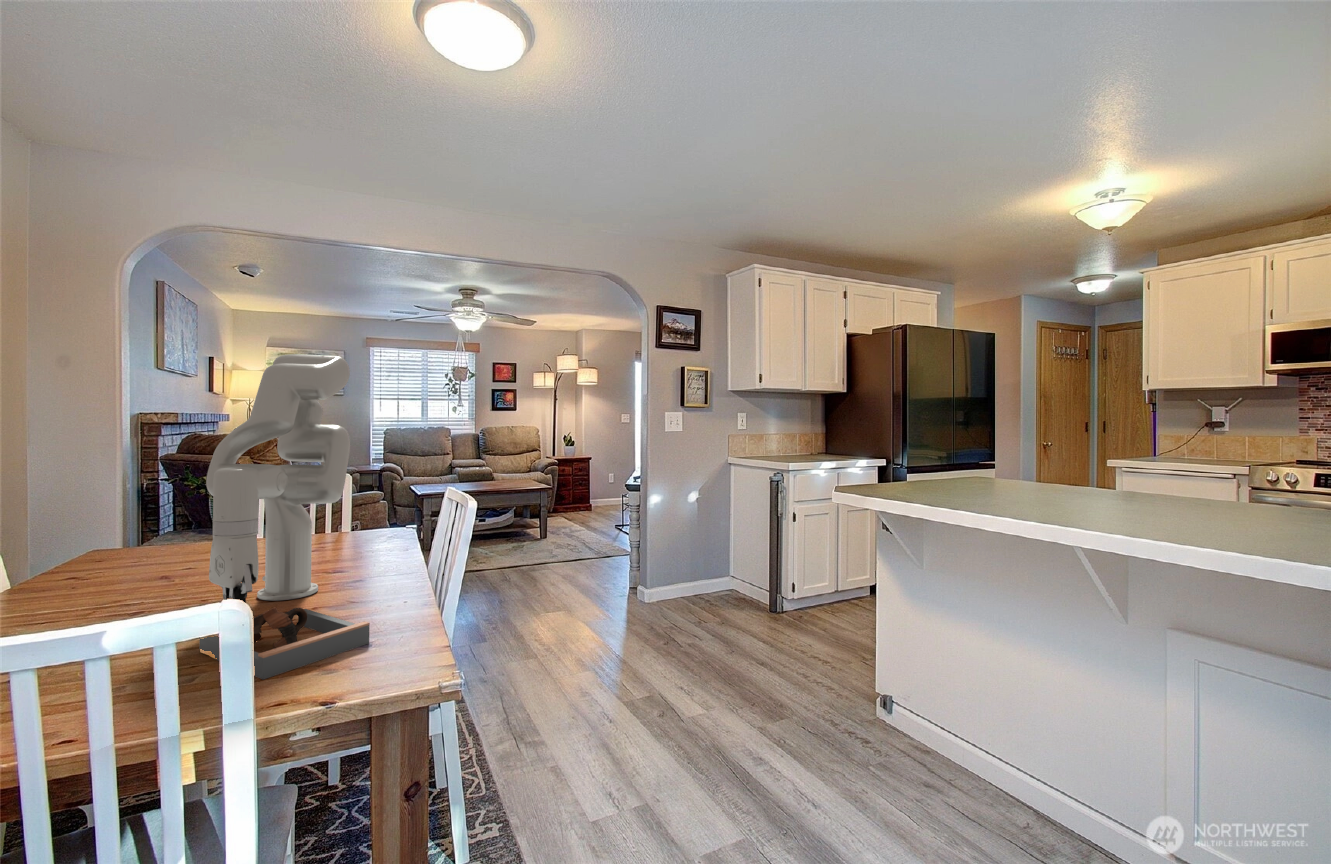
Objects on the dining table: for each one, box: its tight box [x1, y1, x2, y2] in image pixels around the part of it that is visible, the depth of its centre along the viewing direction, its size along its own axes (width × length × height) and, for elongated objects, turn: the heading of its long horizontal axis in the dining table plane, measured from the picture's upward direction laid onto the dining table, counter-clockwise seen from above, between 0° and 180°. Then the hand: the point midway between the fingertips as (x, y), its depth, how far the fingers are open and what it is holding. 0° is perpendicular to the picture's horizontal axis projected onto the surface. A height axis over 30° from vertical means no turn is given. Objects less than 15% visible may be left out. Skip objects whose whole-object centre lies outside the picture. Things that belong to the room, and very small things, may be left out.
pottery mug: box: [253, 607, 307, 649], centre depth 112 cm, size 12×10×8 cm
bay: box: [198, 608, 371, 680], centre depth 111 cm, size 22×19×4 cm
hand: (234, 618), depth 120 cm, fingers closed
